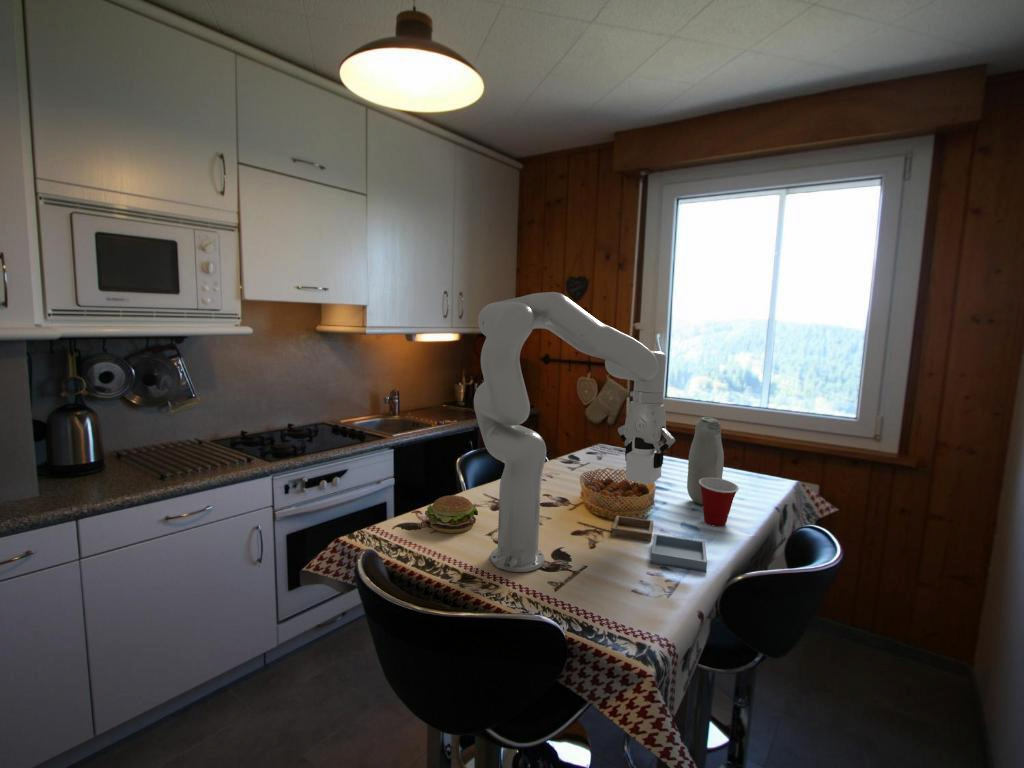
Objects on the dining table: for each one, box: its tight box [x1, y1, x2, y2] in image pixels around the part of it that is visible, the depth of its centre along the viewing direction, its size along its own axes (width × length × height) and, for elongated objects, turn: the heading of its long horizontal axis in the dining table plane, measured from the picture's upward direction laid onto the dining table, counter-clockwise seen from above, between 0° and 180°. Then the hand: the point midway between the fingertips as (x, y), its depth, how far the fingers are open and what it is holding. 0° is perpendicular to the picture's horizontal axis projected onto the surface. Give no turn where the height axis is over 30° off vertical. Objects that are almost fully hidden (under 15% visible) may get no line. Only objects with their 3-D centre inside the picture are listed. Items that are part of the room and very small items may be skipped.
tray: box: [650, 533, 708, 573], centre depth 128 cm, size 12×12×2 cm
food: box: [424, 494, 479, 534], centre depth 142 cm, size 14×14×8 cm
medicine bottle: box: [625, 437, 662, 485], centre depth 139 cm, size 7×7×12 cm
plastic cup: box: [699, 478, 740, 527], centre depth 151 cm, size 11×11×12 cm
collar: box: [611, 515, 654, 542], centre depth 144 cm, size 10×10×2 cm
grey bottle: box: [686, 416, 725, 506], centre depth 167 cm, size 10×10×28 cm
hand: (643, 463), depth 139 cm, fingers closed on medicine bottle, 8 cm apart
